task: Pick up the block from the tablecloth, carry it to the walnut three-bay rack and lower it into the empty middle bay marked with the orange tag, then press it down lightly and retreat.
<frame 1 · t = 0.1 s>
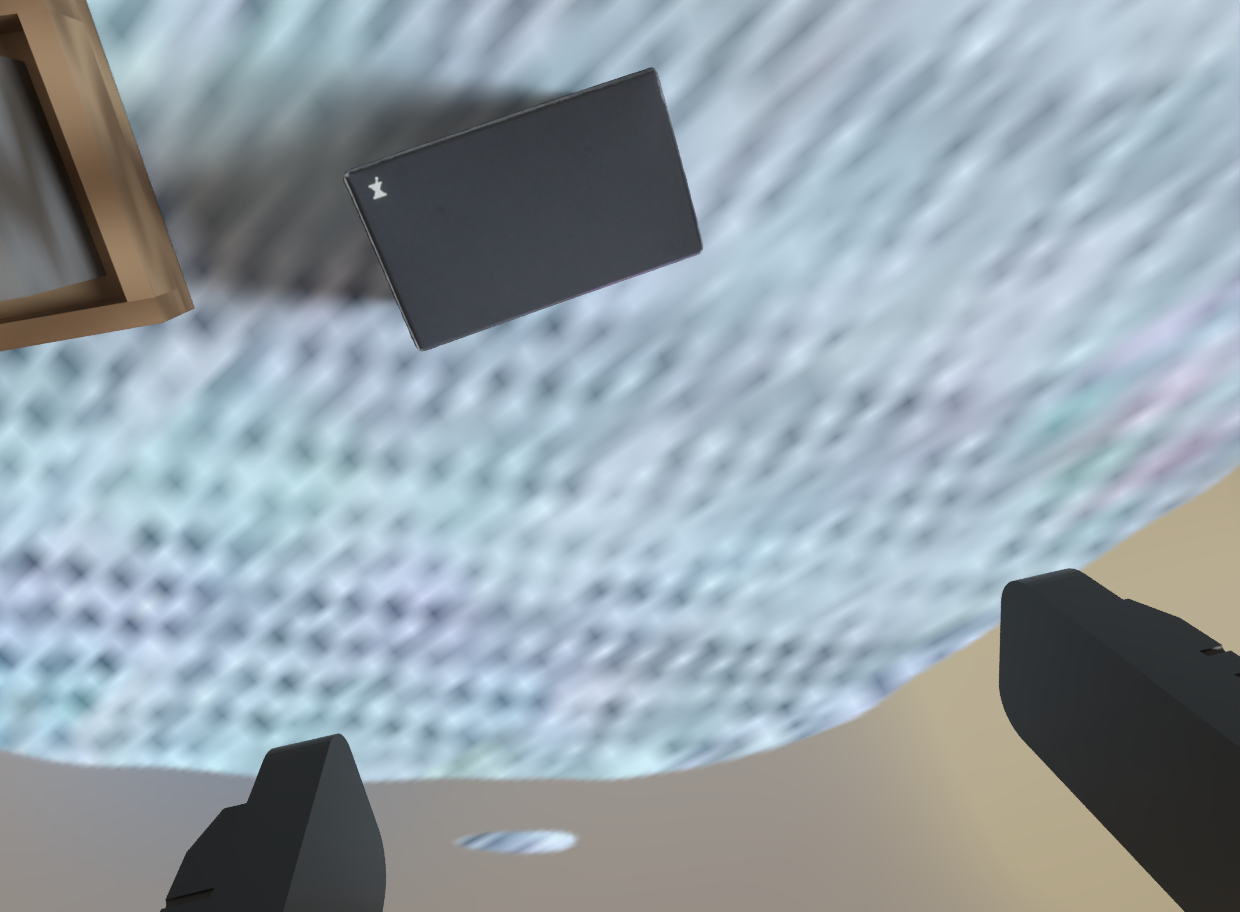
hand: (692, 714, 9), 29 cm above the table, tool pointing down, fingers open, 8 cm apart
small box: (518, 204, 35), on the table
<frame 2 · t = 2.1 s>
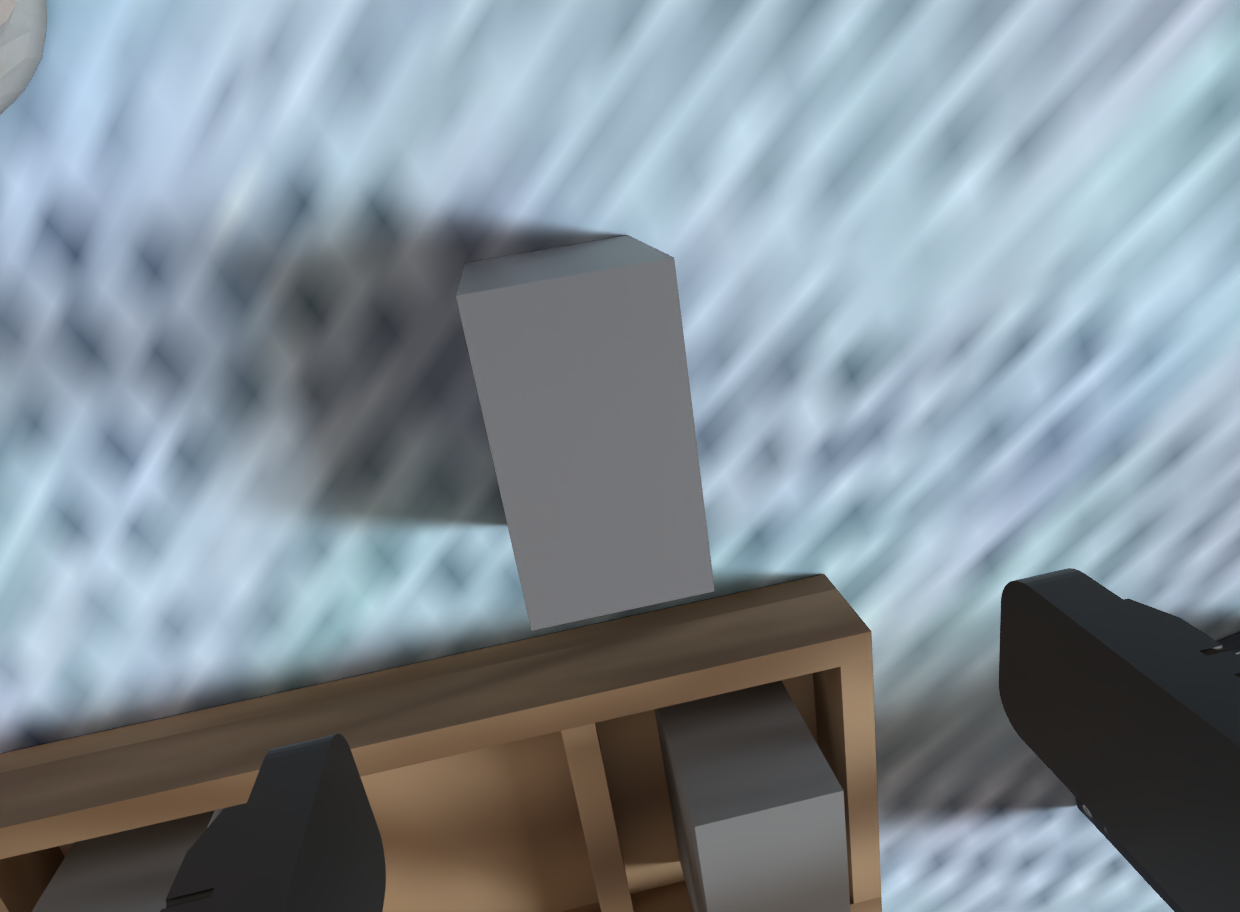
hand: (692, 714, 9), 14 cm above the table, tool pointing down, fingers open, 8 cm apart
small box: (1182, 708, 31), on the table
rack: (472, 800, 27), on the table
block: (571, 387, 23), on the table
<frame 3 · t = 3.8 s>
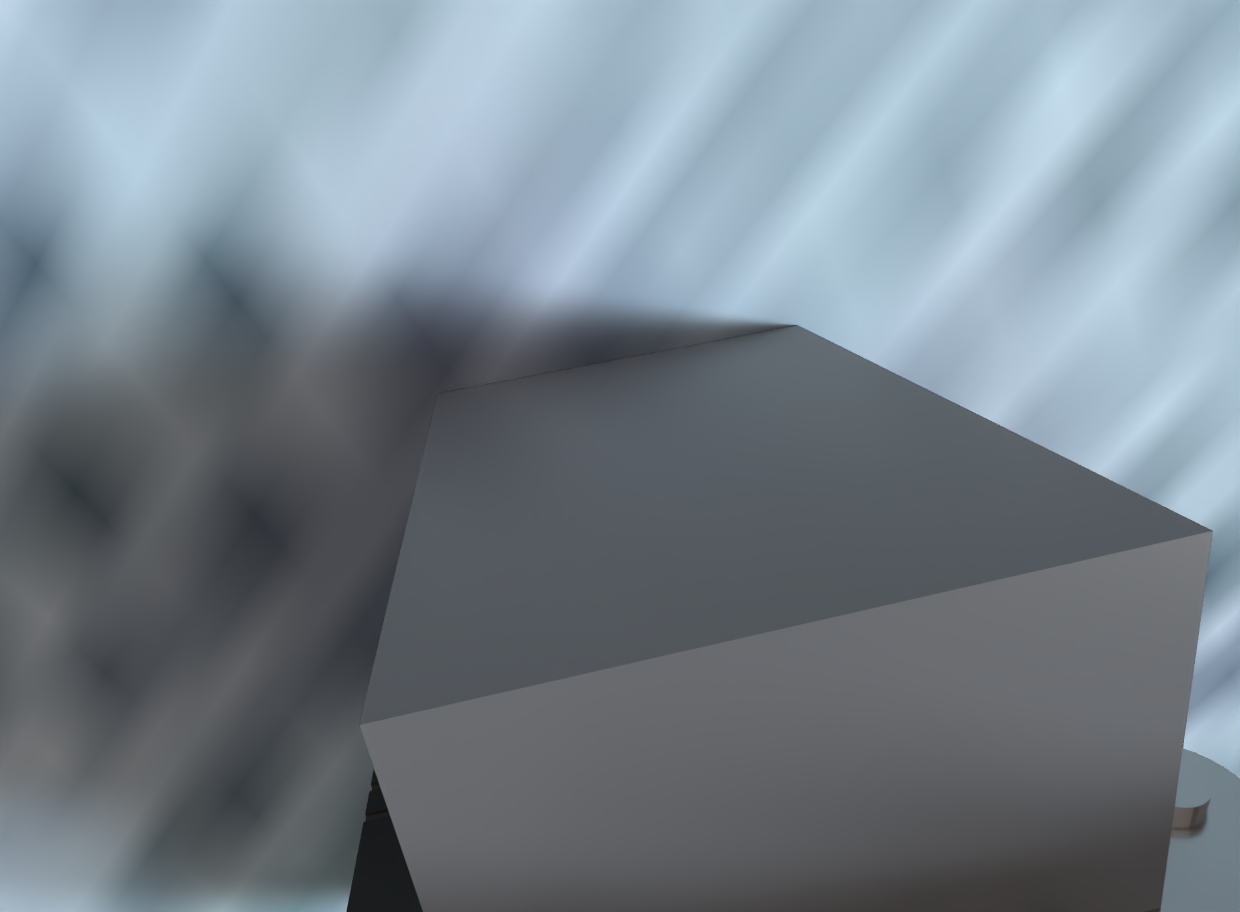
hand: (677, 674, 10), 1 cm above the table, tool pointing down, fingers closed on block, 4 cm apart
block: (664, 633, 11), on the table, touching gripper
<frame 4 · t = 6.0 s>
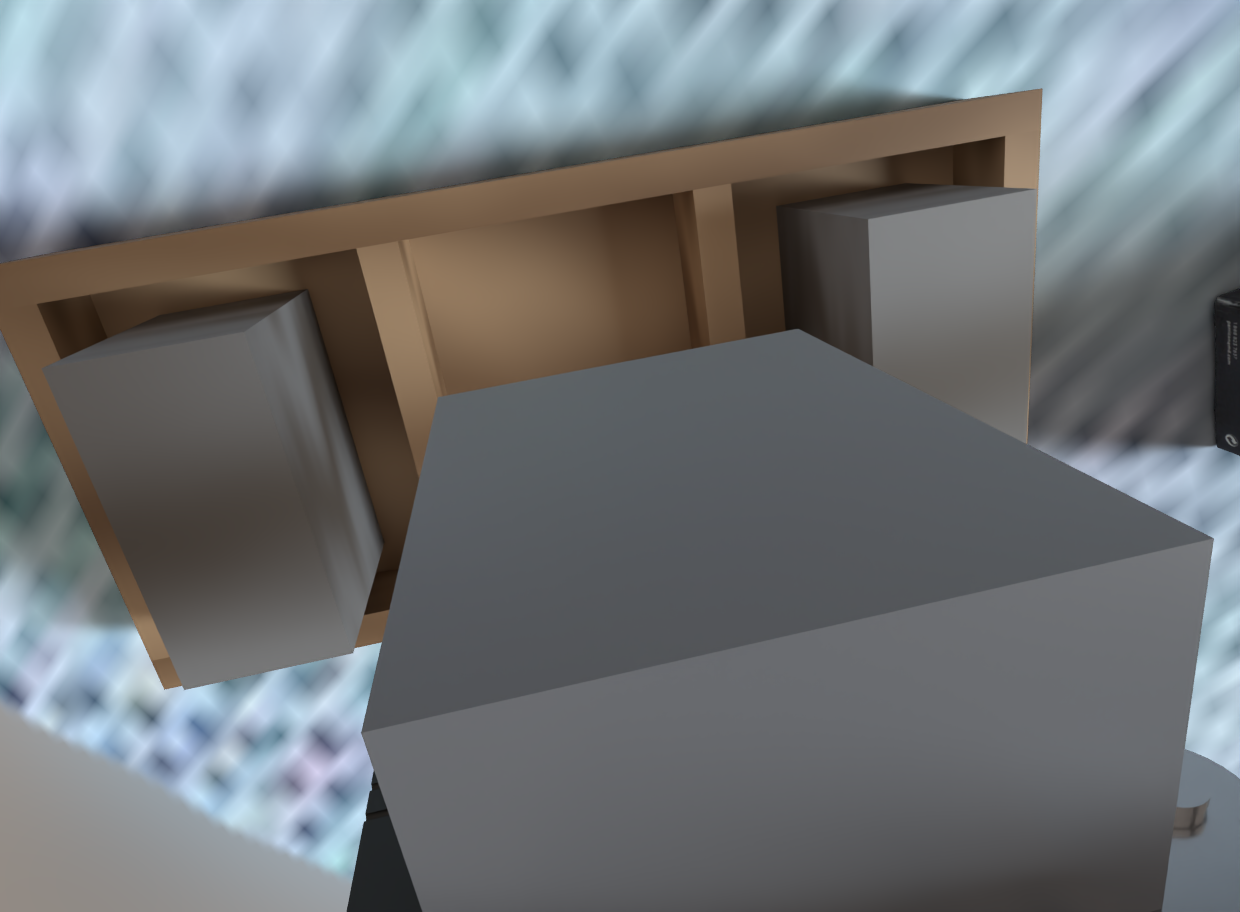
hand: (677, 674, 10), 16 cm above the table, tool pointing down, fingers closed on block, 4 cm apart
rack: (569, 372, 25), on the table
block: (664, 636, 11), point 15 cm above the table, touching gripper
when the fingers open (4 cm above the table, at t = 8.0 s): block drops 2 cm, resting on rack.
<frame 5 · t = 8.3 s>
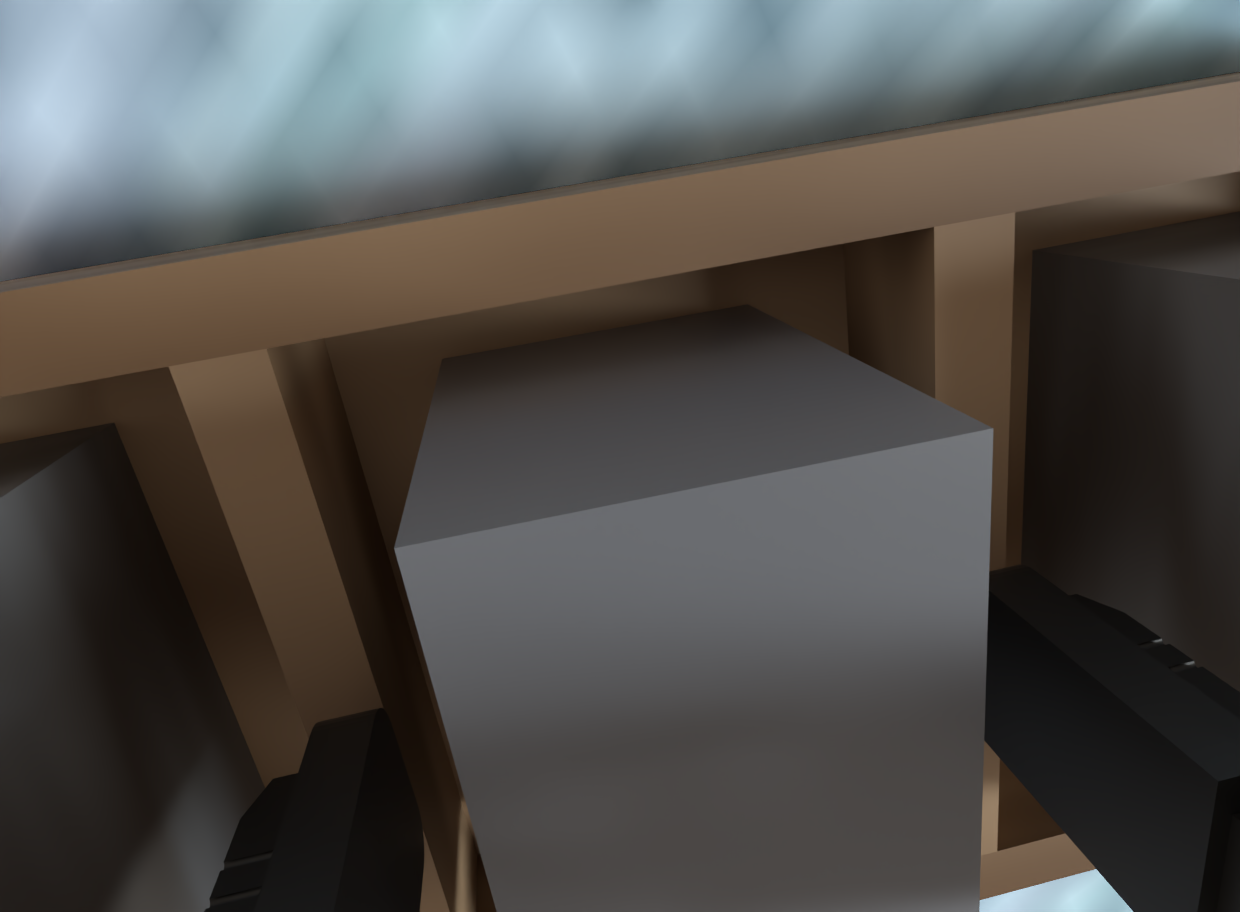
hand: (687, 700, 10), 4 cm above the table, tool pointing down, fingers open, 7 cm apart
rack: (628, 544, 14), on the table
block: (636, 572, 13), point 1 cm above the table, touching rack
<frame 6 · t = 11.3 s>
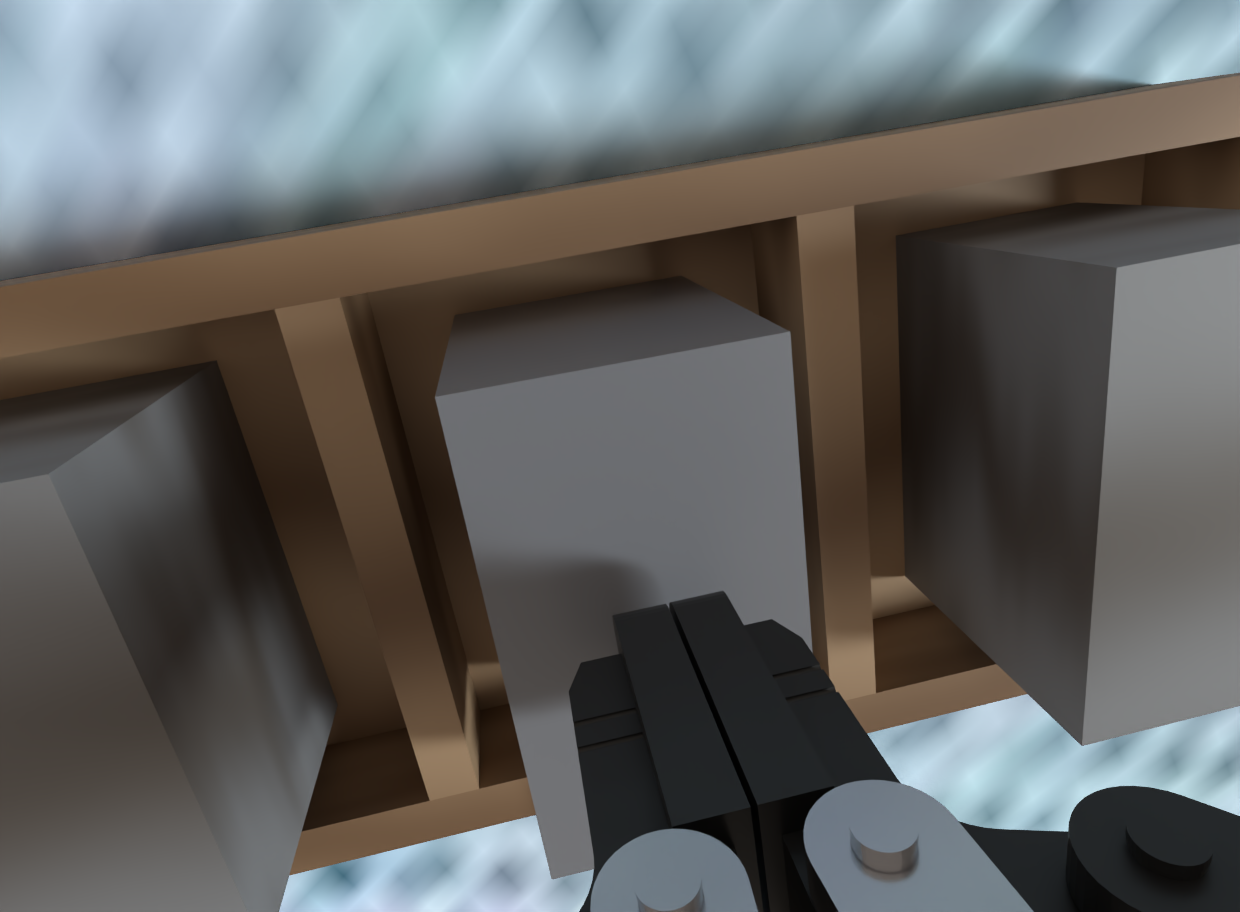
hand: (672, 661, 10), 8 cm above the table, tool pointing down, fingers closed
rack: (597, 465, 18), on the table
block: (601, 481, 17), point 1 cm above the table, touching rack
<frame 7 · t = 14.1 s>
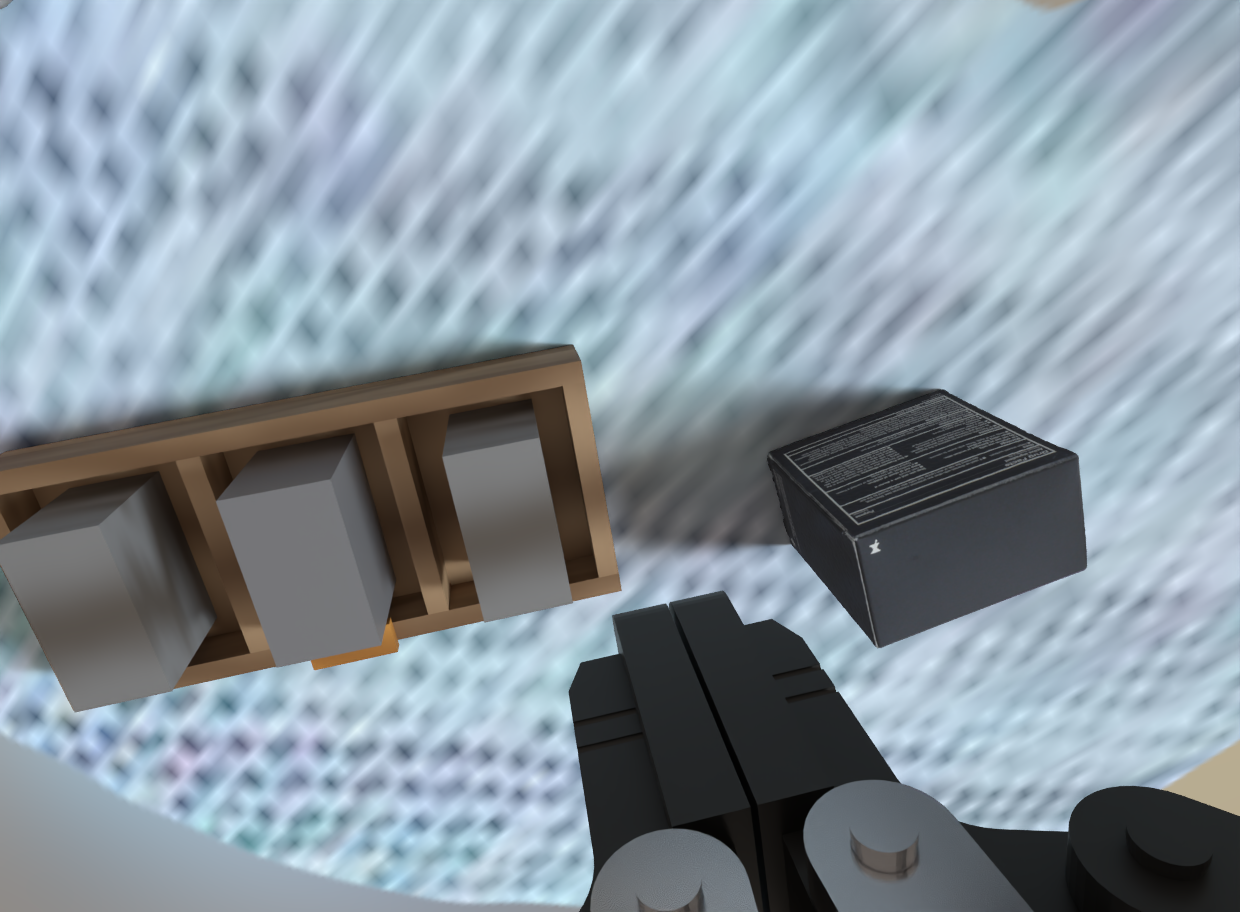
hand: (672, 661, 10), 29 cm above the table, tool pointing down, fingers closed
small box: (864, 469, 43), on the table
rack: (334, 509, 39), on the table
block: (329, 518, 38), point 1 cm above the table, touching rack
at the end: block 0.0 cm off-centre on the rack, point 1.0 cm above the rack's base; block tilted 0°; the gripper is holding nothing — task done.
